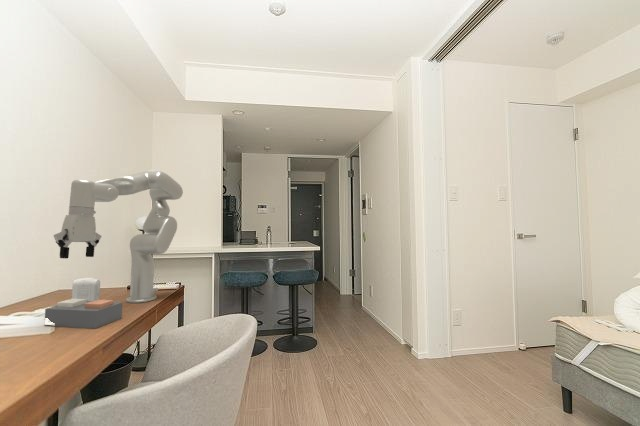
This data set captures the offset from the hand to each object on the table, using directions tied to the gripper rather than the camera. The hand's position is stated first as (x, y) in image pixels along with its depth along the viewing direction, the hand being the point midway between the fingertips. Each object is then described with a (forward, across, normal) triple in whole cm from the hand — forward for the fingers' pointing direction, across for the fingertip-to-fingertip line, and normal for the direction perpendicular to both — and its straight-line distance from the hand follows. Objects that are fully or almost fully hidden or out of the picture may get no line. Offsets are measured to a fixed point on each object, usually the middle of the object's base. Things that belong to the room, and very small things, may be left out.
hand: (77, 257), depth 112 cm
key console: (+24, -1, +5) cm, 24 cm away
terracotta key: (+21, -1, +11) cm, 23 cm away
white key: (+21, 0, 0) cm, 21 cm away
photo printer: (+23, -18, -15) cm, 33 cm away
